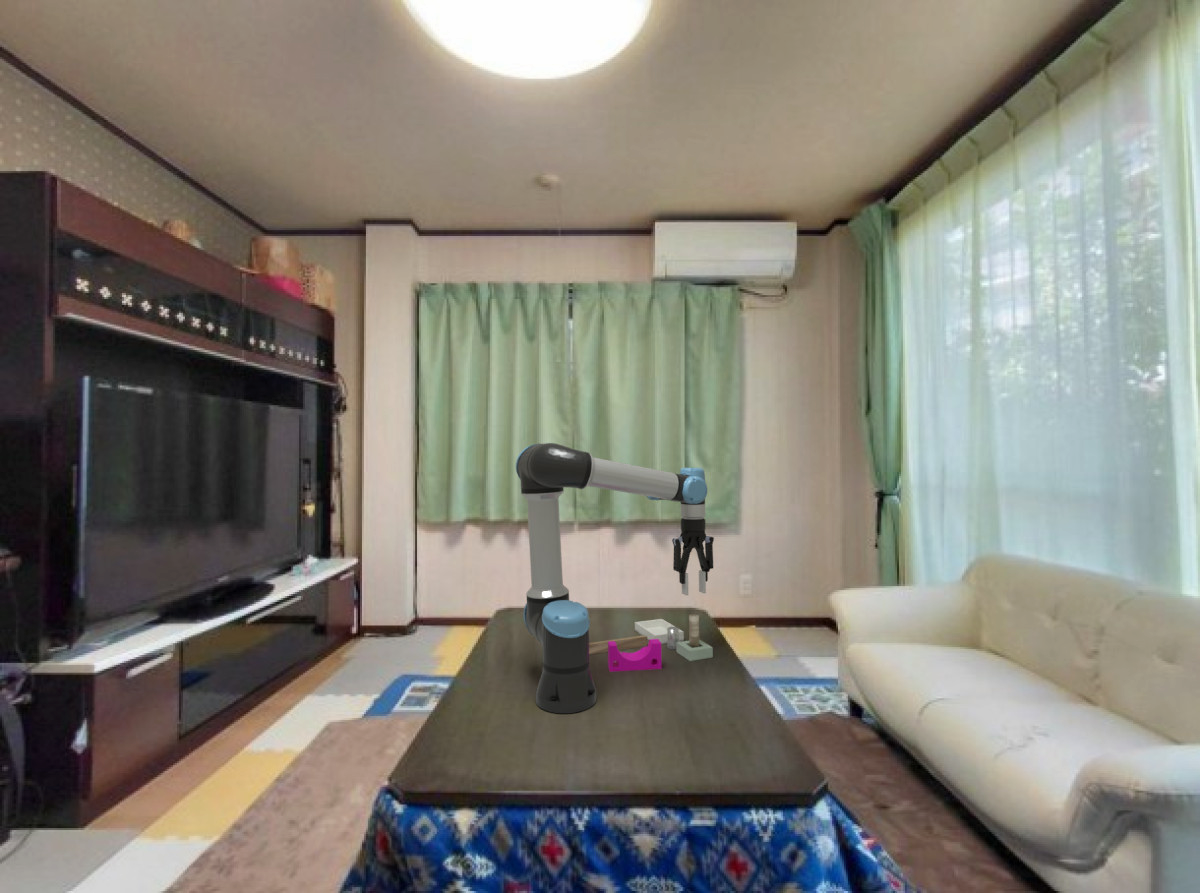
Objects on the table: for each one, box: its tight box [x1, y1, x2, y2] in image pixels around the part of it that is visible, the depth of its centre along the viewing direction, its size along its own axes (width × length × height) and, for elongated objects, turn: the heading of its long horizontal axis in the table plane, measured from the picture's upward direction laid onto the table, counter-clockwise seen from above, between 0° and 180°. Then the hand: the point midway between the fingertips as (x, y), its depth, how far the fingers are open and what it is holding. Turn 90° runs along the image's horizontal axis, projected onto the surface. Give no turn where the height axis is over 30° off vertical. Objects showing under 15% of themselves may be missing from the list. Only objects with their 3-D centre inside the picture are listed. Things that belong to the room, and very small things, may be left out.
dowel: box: [688, 613, 700, 648], centre depth 168 cm, size 3×3×12 cm
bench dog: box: [666, 626, 680, 651], centre depth 174 cm, size 4×4×6 cm
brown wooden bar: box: [589, 635, 648, 655], centre depth 172 cm, size 2×22×3 cm, turn 111°
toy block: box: [607, 639, 663, 673], centre depth 159 cm, size 15×6×8 cm, turn 97°
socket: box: [676, 639, 714, 662], centre depth 168 cm, size 8×8×3 cm
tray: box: [634, 618, 685, 645], centre depth 186 cm, size 16×11×3 cm
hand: (693, 593), depth 168 cm, fingers open, 5 cm apart
